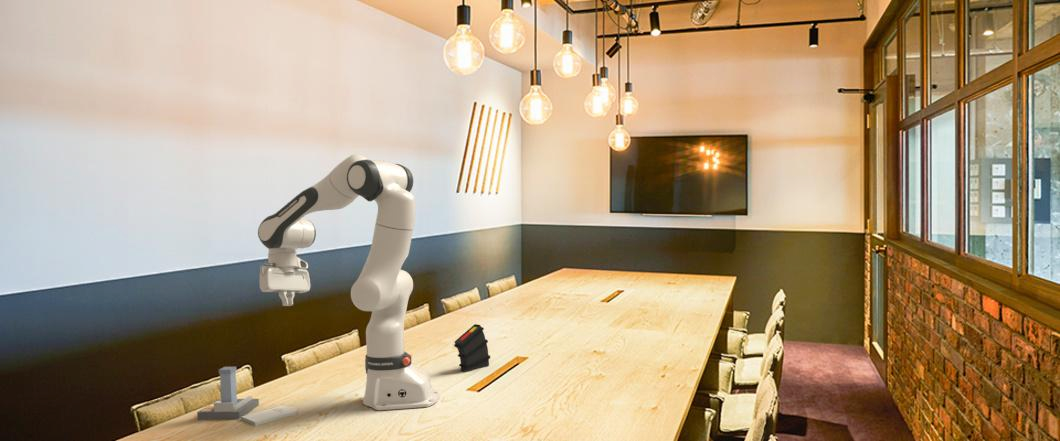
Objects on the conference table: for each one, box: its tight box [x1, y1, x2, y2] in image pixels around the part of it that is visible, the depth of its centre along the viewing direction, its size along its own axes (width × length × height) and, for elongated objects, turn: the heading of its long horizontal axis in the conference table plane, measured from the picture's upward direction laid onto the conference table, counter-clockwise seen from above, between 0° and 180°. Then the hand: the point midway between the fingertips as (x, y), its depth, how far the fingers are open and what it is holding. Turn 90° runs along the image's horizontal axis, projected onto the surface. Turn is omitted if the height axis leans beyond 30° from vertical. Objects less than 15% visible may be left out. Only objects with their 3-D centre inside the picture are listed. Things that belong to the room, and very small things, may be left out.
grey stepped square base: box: [196, 395, 260, 420], centre depth 193 cm, size 12×12×4 cm
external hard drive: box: [240, 405, 298, 427], centre depth 189 cm, size 2×8×12 cm
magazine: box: [453, 323, 491, 373], centre depth 234 cm, size 4×13×15 cm, turn 136°
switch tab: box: [218, 366, 238, 405], centre depth 190 cm, size 3×3×11 cm
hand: (288, 305), depth 217 cm, fingers closed
